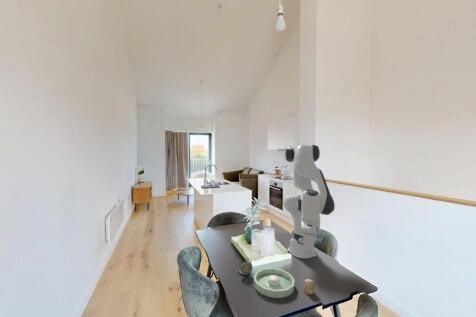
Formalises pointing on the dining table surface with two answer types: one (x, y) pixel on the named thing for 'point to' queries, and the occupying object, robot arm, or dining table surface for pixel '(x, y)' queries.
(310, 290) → the bead
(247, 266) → the pocket watch
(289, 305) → the dining table surface
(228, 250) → the dining table surface
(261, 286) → the groove tray
